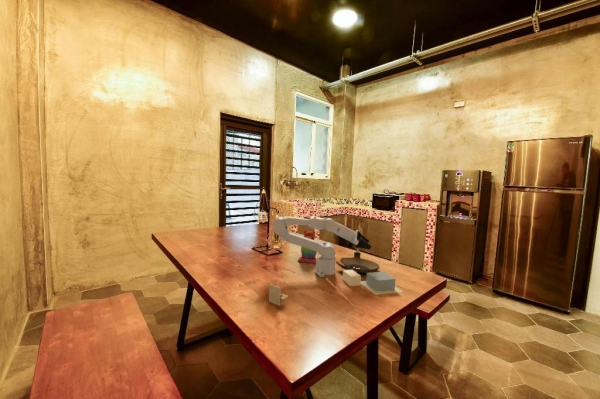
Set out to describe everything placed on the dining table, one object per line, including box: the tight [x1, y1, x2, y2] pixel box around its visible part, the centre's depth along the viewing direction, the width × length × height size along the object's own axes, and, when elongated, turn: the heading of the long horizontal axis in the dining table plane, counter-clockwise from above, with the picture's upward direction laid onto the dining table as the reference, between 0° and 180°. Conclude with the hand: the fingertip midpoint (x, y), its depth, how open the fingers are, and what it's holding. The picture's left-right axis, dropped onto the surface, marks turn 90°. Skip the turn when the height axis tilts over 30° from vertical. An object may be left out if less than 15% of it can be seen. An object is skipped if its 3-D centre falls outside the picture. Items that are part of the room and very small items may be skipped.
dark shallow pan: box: [335, 248, 380, 274], centre depth 142 cm, size 22×30×8 cm
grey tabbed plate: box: [268, 283, 289, 307], centre depth 101 cm, size 3×7×7 cm, turn 53°
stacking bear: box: [297, 230, 318, 265], centre depth 152 cm, size 11×10×18 cm
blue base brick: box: [365, 271, 396, 292], centre depth 118 cm, size 9×9×5 cm
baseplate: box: [360, 280, 404, 296], centre depth 118 cm, size 14×14×1 cm
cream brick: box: [341, 269, 362, 287], centre depth 121 cm, size 5×8×6 cm, turn 17°
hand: (369, 245), depth 131 cm, fingers open, 7 cm apart
